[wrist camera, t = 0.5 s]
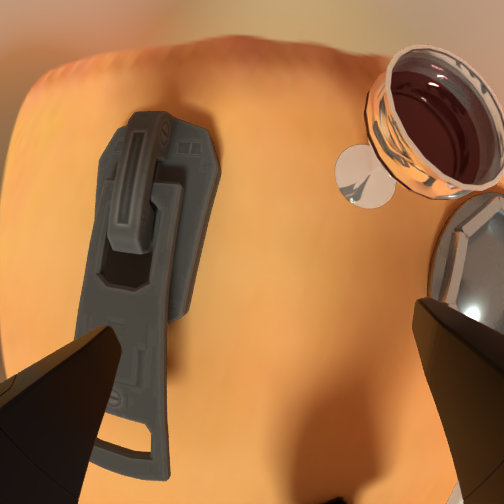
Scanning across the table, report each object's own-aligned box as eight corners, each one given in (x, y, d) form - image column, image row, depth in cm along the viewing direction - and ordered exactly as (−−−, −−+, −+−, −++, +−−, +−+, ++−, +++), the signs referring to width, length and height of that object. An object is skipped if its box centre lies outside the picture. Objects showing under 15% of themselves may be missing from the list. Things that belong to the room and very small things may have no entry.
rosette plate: (548, 302, 20) (560, 304, 18) (456, 400, 21) (467, 409, 19) (505, 166, 20) (518, 162, 18) (396, 252, 21) (408, 252, 19)
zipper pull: (62, 453, 15) (80, 93, 15) (99, 417, 22) (120, 128, 22) (176, 492, 15) (216, 87, 15) (194, 442, 22) (228, 131, 21)
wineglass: (389, 236, 21) (500, 224, 9) (308, 195, 21) (361, 133, 9) (415, 159, 21) (513, 100, 9) (341, 118, 21) (400, 20, 9)
